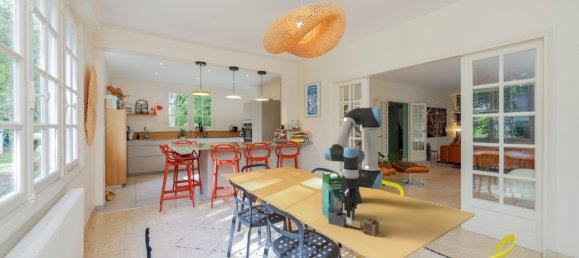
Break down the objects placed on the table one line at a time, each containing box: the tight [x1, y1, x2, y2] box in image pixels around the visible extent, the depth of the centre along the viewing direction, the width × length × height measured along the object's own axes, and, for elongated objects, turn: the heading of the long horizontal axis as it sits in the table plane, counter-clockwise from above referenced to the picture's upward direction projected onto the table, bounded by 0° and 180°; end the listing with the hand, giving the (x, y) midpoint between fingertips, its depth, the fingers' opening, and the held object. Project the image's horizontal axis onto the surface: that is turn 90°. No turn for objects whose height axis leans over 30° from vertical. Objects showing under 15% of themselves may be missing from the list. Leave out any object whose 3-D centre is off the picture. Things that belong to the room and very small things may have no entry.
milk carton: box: [321, 171, 344, 221], centre depth 138 cm, size 9×9×25 cm
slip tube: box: [338, 206, 364, 229], centre depth 125 cm, size 3×17×9 cm, turn 52°
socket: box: [363, 217, 380, 237], centre depth 117 cm, size 6×5×6 cm
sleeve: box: [328, 209, 348, 228], centre depth 128 cm, size 6×9×6 cm
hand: (350, 221), depth 124 cm, fingers closed on slip tube, 3 cm apart
